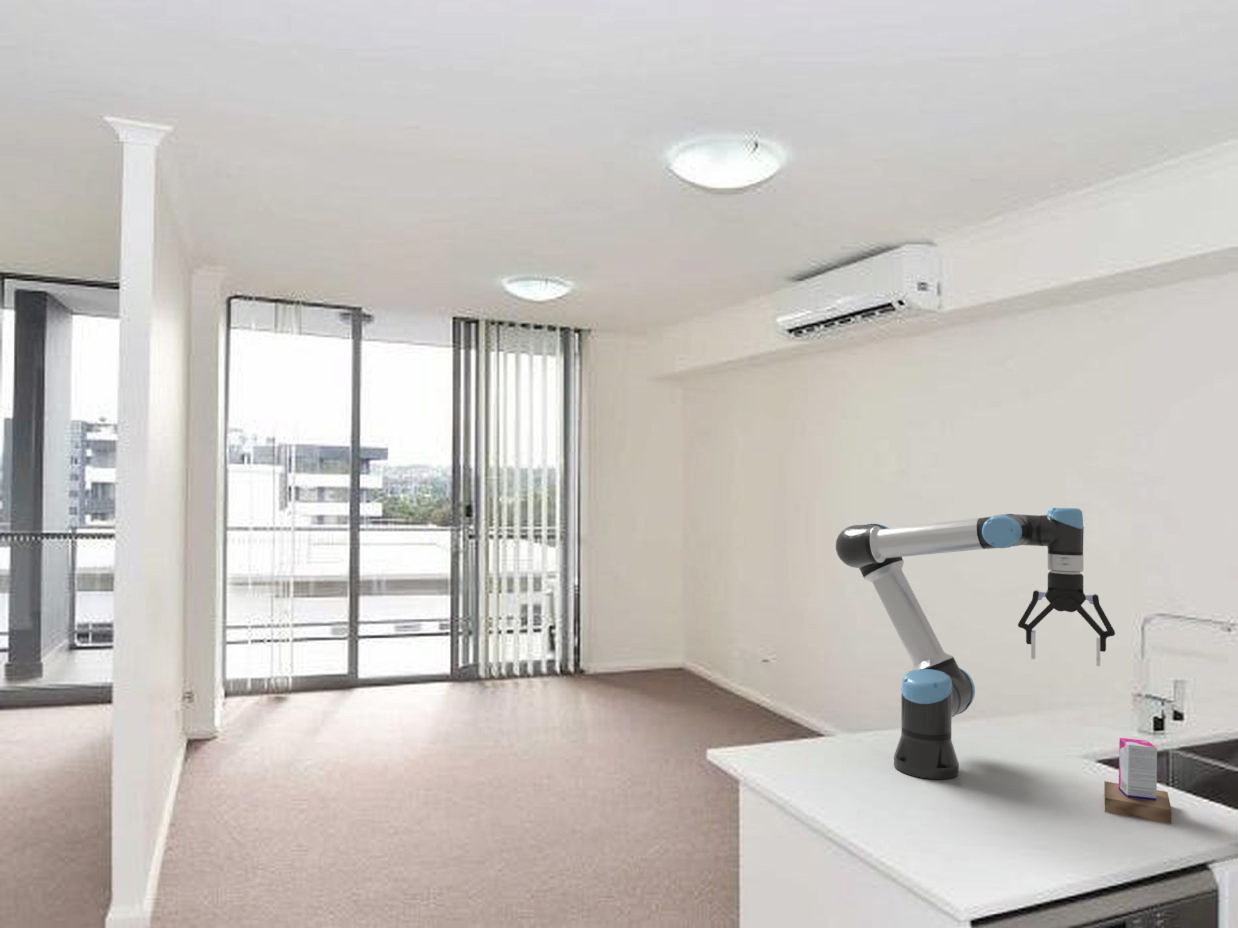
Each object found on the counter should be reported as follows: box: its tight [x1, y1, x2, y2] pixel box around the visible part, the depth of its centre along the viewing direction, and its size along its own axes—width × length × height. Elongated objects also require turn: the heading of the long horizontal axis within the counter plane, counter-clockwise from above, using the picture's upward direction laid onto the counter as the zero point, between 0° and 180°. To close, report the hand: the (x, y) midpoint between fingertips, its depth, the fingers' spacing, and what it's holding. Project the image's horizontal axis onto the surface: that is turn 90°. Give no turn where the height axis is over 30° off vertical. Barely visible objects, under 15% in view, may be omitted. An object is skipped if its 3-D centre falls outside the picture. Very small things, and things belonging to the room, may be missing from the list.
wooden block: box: [1103, 780, 1173, 825], centre depth 179 cm, size 12×12×3 cm
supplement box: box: [1118, 737, 1158, 801], centre depth 179 cm, size 6×6×12 cm
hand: (1065, 661), depth 194 cm, fingers open, 13 cm apart
